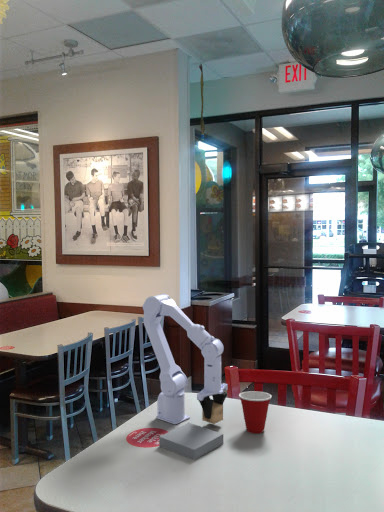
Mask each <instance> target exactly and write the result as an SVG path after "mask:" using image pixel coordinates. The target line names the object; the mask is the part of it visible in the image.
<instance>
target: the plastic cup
mask: <svg viewBox="0 0 384 512" xmlns="http://www.w3.org/2000/svg"><path fill="white" fill-rule="evenodd" d="M272 396H273V395H272V394H270V393H268V392H265V391H257V390H256V391H255V390H254V391H243V392H239V394H238V397H239V399H240V402H241V407H242V408H241V409H242V413H243V420H244V422H245V423H244V424H245V428H246V432H249V433H250V434H262V433H264V431H265V427H266V422H267V417H268V411H269V406H270V401H271V399H272Z"/></svg>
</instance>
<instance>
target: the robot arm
mask: <svg viewBox="0 0 384 512" xmlns="http://www.w3.org/2000/svg"><path fill="white" fill-rule="evenodd" d="M142 310H143V325H144V328H145V330H146V333H147V336H148V338H149V341H150V343H151V346H152V349H153V352H154V354H155V357H156V360H157V362H158V365H159V369H160V373H159V382H160V390H161V392H160V393H159V395H158V396H157V401H156V402H157V411H156V412H157V415H155V419H158V420H160V421H164V422H167V423H170V424H172V425H177V424H179V423H182V422H184V421H186V420H188V419H190V418H191V416H190V415H187V414H186V413H185V410H186V409H185V401H186V400H185V399H186V398H185V388H186V387H187V386H188V377H187V376H186V374H185V373H184V372H183V371H182V369H181V366H179V365H177V364H176V363H175V359H174V357H173V354H172V351H171V349H170V346H169V343H168V341H167V338H166V335H165V333H164V332H165V331H164V329H163V328H162V325H161V322H162V319H163V317H164V316H166V317H170V318H171V319H173V321H175V322H176V323H177V324H178V325H180V326H181V327H182V328H183V330H185V331H186V334H187V338H188V339H190V341H192V343H193V344H194V345H196V347H198V348H199V350H201V351H200V352H201V355H202V356H203V358H204V360H203V361H204V363H203V365H204V367H203V369H204V373H203V374H204V375H203V379H204V384H203V386H204V387H203V389H202V390H201V391H199V392H197V394H196V400H198V402H199V404H200V406H201V409H203V413H204V417H205V418H207V419H211V412H212V405H213V402H214V403H217V404H221V405H223V406H224V403H225V400H226V398H227V396H228V392H226V391H228V389H229V388H228V387H229V386H228V385H229V384H228V383H222V354H223V353H224V349H225V348H224V344H223V342H222V341H221V340H220V339H219V338H215V336H213V335H211V334H210V333H209V332H208V331H206V329H205V326H204V325H203V324H202V325H201V324H198V323H194V322H192V319H190V318H189V316H187V315H186V314H185V313H184V311H183V310H182V309H181V308H180V307H179V306H178V305H177V303H176V301H175V300H174V299H173V298H171V297H170V296H169V294H167V293H160V294H157V295H154V296H148V297H147V298H146V299H145V301H144V302H143V305H142ZM211 397H212V398H211Z"/></svg>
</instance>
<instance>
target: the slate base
mask: <svg viewBox="0 0 384 512" xmlns="http://www.w3.org/2000/svg"><path fill="white" fill-rule="evenodd" d="M158 438H159V439H158V440H159V441H158V445H159V447H160V448H163V449H165V450H169V451H170V452H172V453H175V454H177V455H180V456H183V457H186V458H188V459H190V460H191V459H192V460H194V461H195V460H197V459H199V458H201V457H202V456H204V455H206V454H208V453H210V452H211V451H213V450H214V449H216V448H218V447H219V446H222V445H223V444H224V433H222V432H218V431H215V430H213V429H209V428H206V427H203V426H201V425H197V424H194V423H193V422H192V423H191V422H187V423H185V424H183V425H181V426H178V427H177V428H175V429H173V430H170V431H168V432H166V433H164V434H162V435H160V436H159V437H158Z"/></svg>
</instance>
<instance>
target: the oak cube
mask: <svg viewBox="0 0 384 512" xmlns="http://www.w3.org/2000/svg"><path fill="white" fill-rule="evenodd" d="M201 409H202V408H201ZM201 414H202V415H201V417H202V419H201V420H202V422H203V421H204V422H207V423H210V424H213V425H215V424H218V423H219V422H221V421H223V420H224V404H223V405H221V404H217V403H214V402H213V405H212V412H211V419H207V418H205V417H204V413H203V409H202V411H201Z"/></svg>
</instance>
